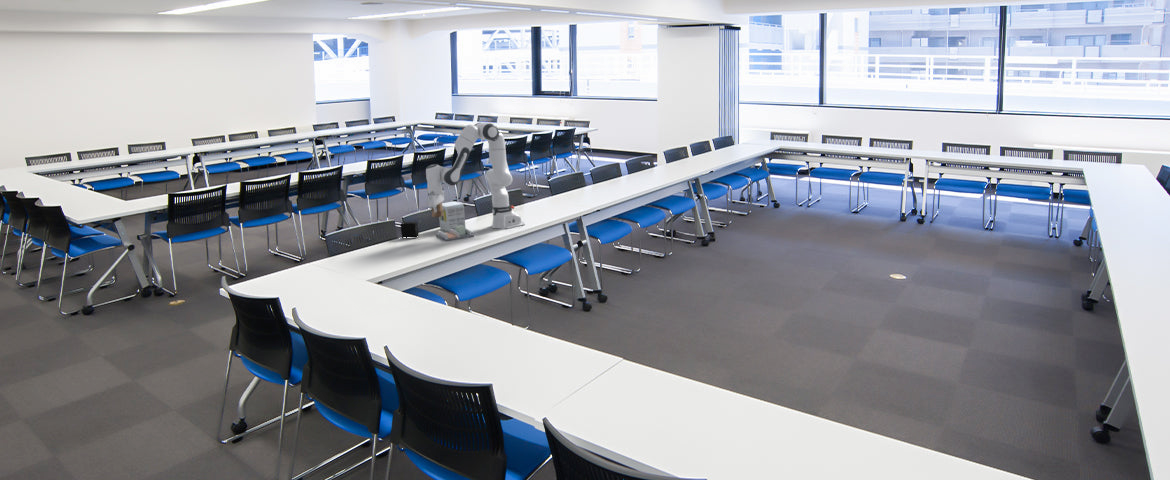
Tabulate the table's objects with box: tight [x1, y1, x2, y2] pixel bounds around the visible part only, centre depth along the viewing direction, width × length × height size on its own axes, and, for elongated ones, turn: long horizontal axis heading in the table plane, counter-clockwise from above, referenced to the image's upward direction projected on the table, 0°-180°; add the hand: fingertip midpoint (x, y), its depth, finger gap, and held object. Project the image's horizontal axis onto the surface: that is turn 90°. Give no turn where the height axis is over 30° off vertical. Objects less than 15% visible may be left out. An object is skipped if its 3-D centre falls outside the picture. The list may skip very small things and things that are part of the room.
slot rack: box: [436, 225, 474, 242], centre depth 493 cm, size 19×18×6 cm
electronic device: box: [400, 221, 420, 239], centre depth 494 cm, size 4×10×10 cm, turn 78°
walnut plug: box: [430, 202, 443, 218], centre depth 485 cm, size 6×4×8 cm, turn 81°
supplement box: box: [438, 200, 467, 233], centre depth 512 cm, size 13×13×18 cm
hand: (437, 211), depth 485 cm, fingers closed on walnut plug, 4 cm apart
